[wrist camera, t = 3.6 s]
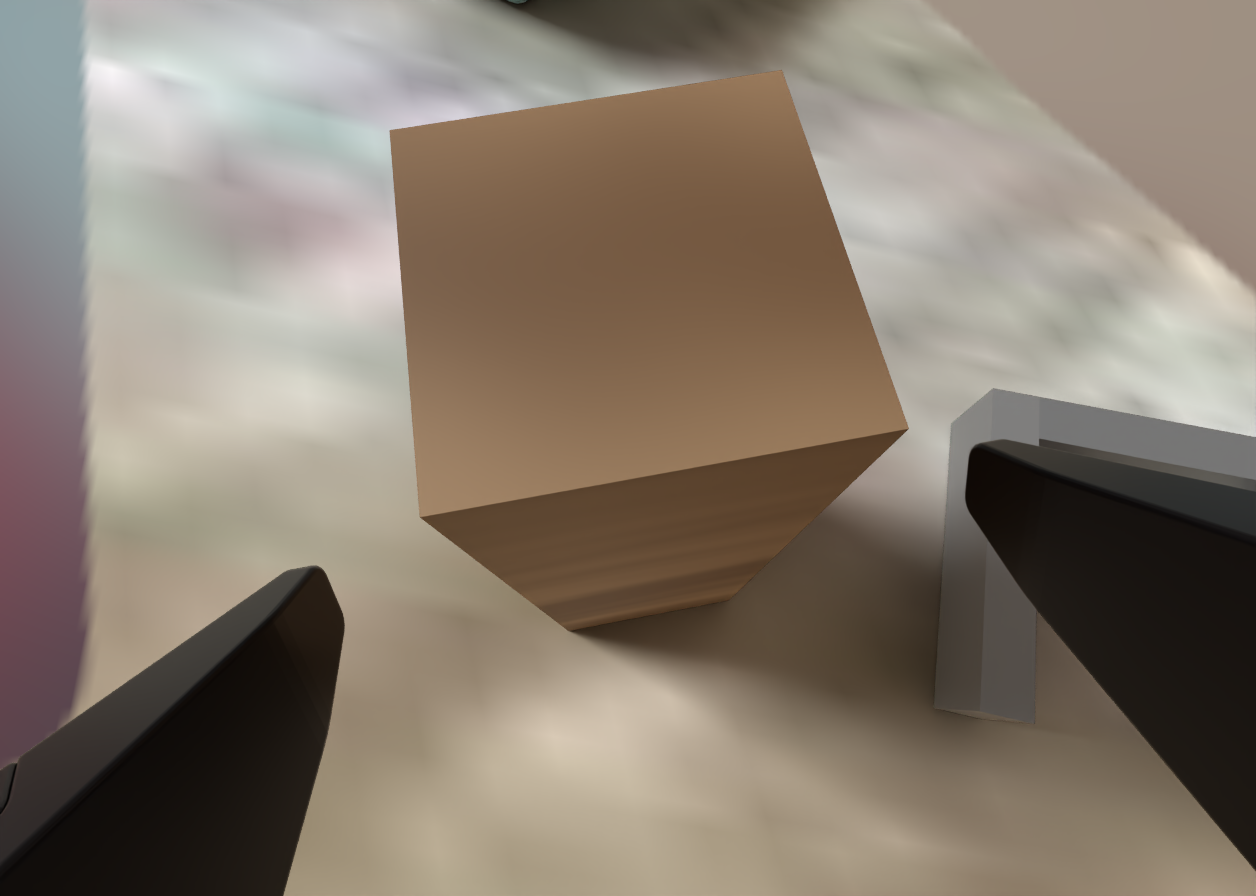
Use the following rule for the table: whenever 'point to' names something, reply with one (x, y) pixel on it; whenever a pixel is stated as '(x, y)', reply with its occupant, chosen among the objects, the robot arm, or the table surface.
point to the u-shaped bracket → (977, 578)
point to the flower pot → (517, 1)
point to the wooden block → (632, 344)
